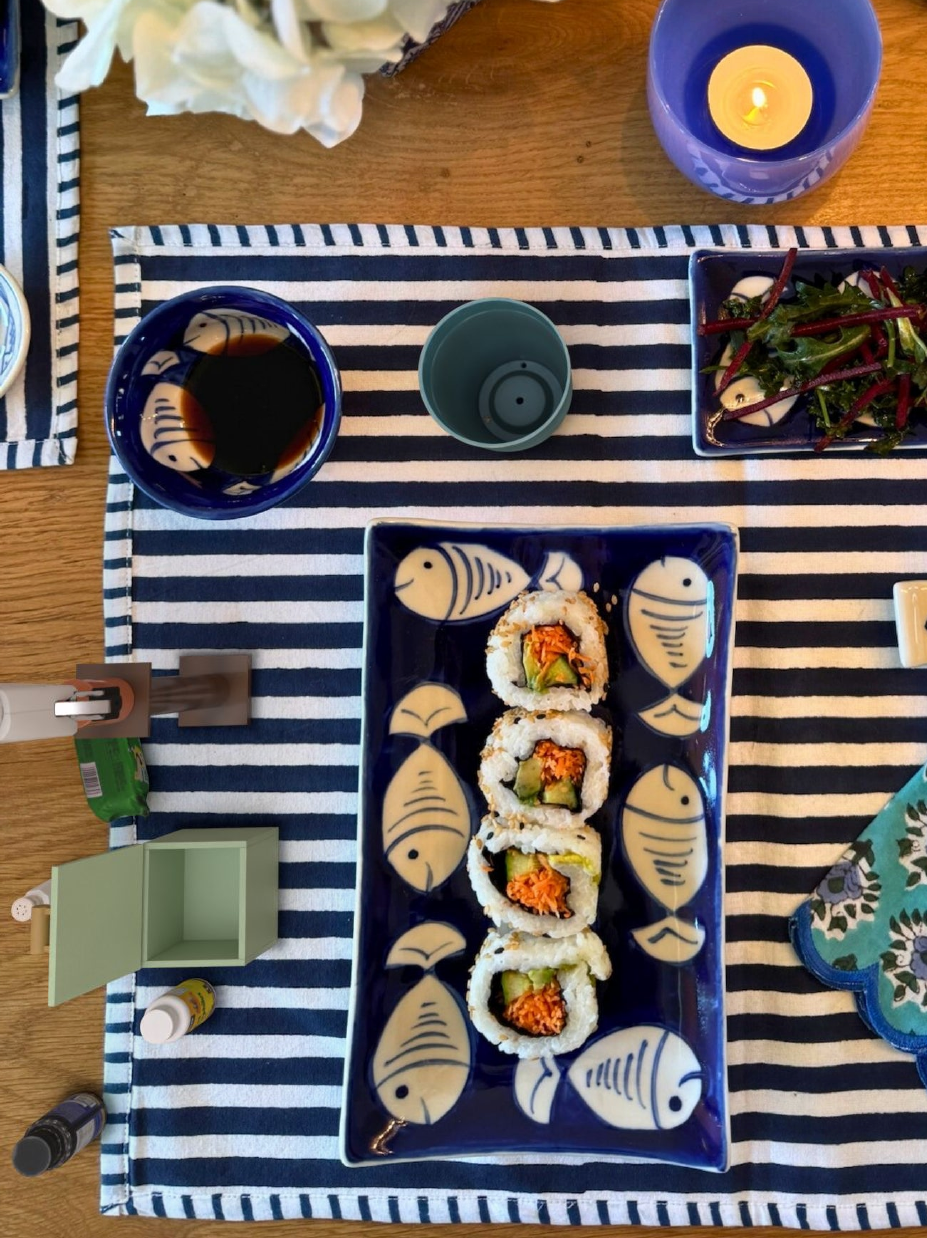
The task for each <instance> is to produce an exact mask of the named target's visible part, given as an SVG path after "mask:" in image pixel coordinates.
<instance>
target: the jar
mask: <svg viewBox="0 0 927 1238" xmlns="http://www.w3.org/2000/svg"><path fill="white" fill-rule="evenodd" d="M59 685H73V686H74V687H75V688H76V689H77V690H78V691H76V692H80V691H91V690H92V688H100V687H113V686H119V687H120V695H121V696H122V708H121V710H120V715H119V718H118V719H111V720H104V721H95V722H91V721H92V720H83V721H76V722H77V723H78V728H85V727H93V726H100V725H108V724H114V723H118V722H120V721H122V720H124V719H125V718H126V717H127V716H128V715H129V714H130V712H131V711H132V708H133V705H134V694H133V691H132V688H131V687H130V686H129V684H128V683H127V682H125V681H124V680H122V679H120V678H116V677H105V678H88V679H76V678H74V679H68V680H65V681H63V682H61V683H60V684H59ZM77 701H89V697H77ZM59 702H66V700H60V701H59ZM78 715H83V714H78ZM63 716H66V715H63ZM78 728H77V729H78Z"/></svg>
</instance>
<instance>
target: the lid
mask: <svg viewBox="0 0 927 1238" xmlns="http://www.w3.org/2000/svg"><path fill="white" fill-rule="evenodd" d="M50 879H51V907H50V905H49V904H41V905H36V906H33V907H32V908H31V919H30V938H29V939H30V943H29V949H30V950H29V954H30V955H34V956H38V955H43V954H44V955H45V954H47V953H49V954H48V955H49V957H48V986H47V988H48V989H47V992H48V993H47V1007H52V1008H53V1007H54V1008H55V1007H57V1006H59V1005H62V1004H64V1003H66V1002H68V1001H71V1000H73V999H76V998H77V997H80V996H82V995H84V994H87V993H89V992H91V991H93V990H96V989H98V988H100V987H101V988H102V987H103V986H106V985H108V984H110V983H112V982H114V981H117V980H119V979H121V978H123V977H126V976H128V975H130V974H133V973H136V972H137V971H141V969H142V968H141V929H142V881H143V843H135V844H131V845H127V846H124V847H120V848H116V849H111V850H109V851H105V852H101V853H97V854H94V855H90V856H85V857H82V858H79V859H75V860H72V861H67V862H63V863H60V864H57V865H52V866H51V878H50Z"/></svg>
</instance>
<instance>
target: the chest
mask: <svg viewBox="0 0 927 1238" xmlns="http://www.w3.org/2000/svg"><path fill="white" fill-rule="evenodd" d="M279 830H280V829H279V827H278V826H268V827H266V826H263V827H259V826H258V827H220V828H219V827H218V828H217V827H216V828H214V827H213V828H182V829H179V830H176V831H173V832H171V833H167V834H164V835H162V836H159V837H156V838H153V839H150V840H147V841H143V843H142V844H143V881H142V929H141V969H151V968H153V969H154V968H155V969H156V968H200V967H201V968H204V967H207V968H209V967H245V966H247V965H248V964H250V963H251V962H252V961H254V960H255V959H257V958H258V957H260V956H261V955H263V954H264V953H266V952H267V951H268V950H270V949H271V948H273V947H274V946H276V945H277V944H278V940H279V939H278V937H279V935H278V933H279V932H278V931H279V927H278V926H279V918H278V917H279V847H280V845H279V838H280V837H279V834H280V833H279Z"/></svg>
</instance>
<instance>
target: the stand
mask: <svg viewBox="0 0 927 1238" xmlns="http://www.w3.org/2000/svg"><path fill="white" fill-rule="evenodd" d="M252 656H253V655H252V654H230V655H229V654H227V655H226V654H225V655H191V656H190V655H189V656H188V655H187V656H186V655H185V656H179V662H178V664H179V665H178V675H169V676H153V677H152V670H153V662H152V661H147V662H146V661H145V662H144V661H143V662H142V661H141V662H103V663H102V662H101V663H100V662H99V663H98V662H97V663H76V664H75V679H88V678H105V677H116V678H120V679H122V680H124V681H125V682H127V683H128V684H129V686H130V687H131V688H132V691H133V694H134V705H133V708H132V711H131V712H130V714H129V715H128V716H127V717H126V718H125V719H124V720H122V721H120V722H118V723H114V724H108V725H100V726H93V727H85V728H78V729H77V732H76V733H75V734H74V735H73V740H74V739H87V738H130V737H139V738H150V737H151V724H152V723H151V718H152V717H154V716H161V715H168V714H169V715H170V714H178V717H177V719H178V720H177V726H178V727H216V726H217V727H219V726H220V727H221V726H248V725H249V726H250V725H251V724H252V669H253V667H252V666H253V665H252V663H253V662H252V661H253V657H252Z"/></svg>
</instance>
